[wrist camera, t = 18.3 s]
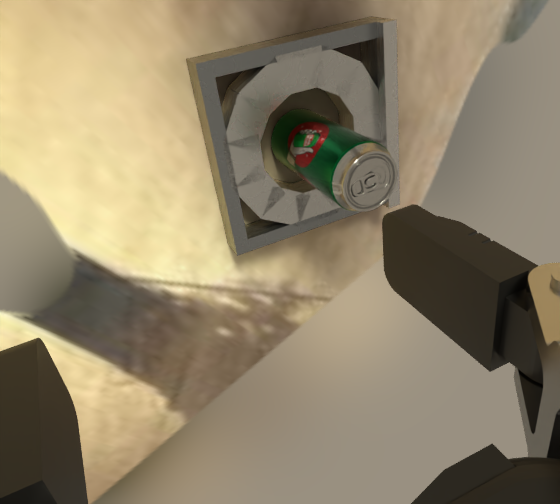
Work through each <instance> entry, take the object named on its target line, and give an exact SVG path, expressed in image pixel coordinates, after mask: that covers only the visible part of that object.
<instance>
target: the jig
mask: <svg viewBox="0 0 560 504" xmlns="http://www.w3.org/2000/svg"><path fill="white" fill-rule="evenodd" d="M359 42H360V49H361V61H358V60H356V59H354V58H351V57H349V56H346V55H344V54H342V53H339V52H337V51H335V50H332V49H334V48H338V47H342V46H346V45H350V44H355V43H359ZM186 60H187V65H188V69H189V74H190V78H191V83H192V87H193V91H194V96H195V100H196V105H197V109H198V113H199V118H200V122H201V127H202V131H203V136H204V140H205V144H206V149H207V153H208V158H209V162H210V166H211V171H212V175H213V180H214V184H215V189H216V193H217V197H218V202H219V206H220V211H221V215H222V219H223V224H224V228H225V233H226V237H227V242H228V244H229V245H230V247H231V248H232V249H233V251H234V252H235V253H236V255H237V256H238V255H241V254H243V253H246V252H249V251H252V250H255V249H258V248H260V247H263V246H266V245H269V244H272V243H275V242H277V241H280V240H283V239H286V238H289V237H292V236H294V235H297V234H300V233H303V232H306V231H309V230H312V229H314V228H317V227H320V226H323V225H326V224H329V223H331V222H334V221H337V220H340V219H343V218H346V217H348V216H351V215H354V214H357V213H360V212H362V211H349V210H346V209H344V208H342V207H340V206H339V205H338V204H336V203H335V202H334V201H332V200H331V199H330V198H328V197H327V196H325V195H324V194H323V193H321V192H320V191H319V190H317V189H316V188H315V187H313V186H312V185H310V184H309V183H308V182H306V181H305V180H301V181H298V182H295V183H292V184H290V183H286V182H282V181H278V180H274V179H272V178H271V176H270V175H269V174H268V173H267V172H266V171H265V169H264V163H263V157H262V151H261V145H260V142H261V139H262V136H263V133H264V130H265V127H266V124H267V121H268V118H269V115H270V114H271V113H272V112H273V111H274V110H275V109H276V108H277V107H278V106H279V105H280V104H281V103H282V102H283V101H284V100H285V99H286V98H287V97H288V96H289V95H290V94H294V93H297V92H301V91H305V90H309V89H312V88H316V87H317V88H320V89H322V90H325V91H326V93H327V94H328V96H329V97H330V99H331V100H332V101H333V103H334V104H335V106H336V107H337V109H338V112H339V124H340V125H342V126H344V127H347V128H349V129H351V130H353V131H355V132H357V133H359V134H361V135H363V136H365V137H367V138H370V139H372V140H374V141H376V142H378V143H380V144H382V145H383V146H384V147H385V148H386V149H387V150H388V151H389V153H390V155H391V157H392V158H393V160H394V161H395V163H396V166H397V172H398V175H397V182H396V186H395V188H394V190H393V192H392V194H391V196H390V197H389V198H388V200H387V201H386V202H385V203H383V204H382V205H384V206H386V207H388V208H391V207H394V206H397V205H400V191H399V136H398V81H397V25H396V20H395V19H386V18H378V17H368V18H364V19H359V20H355V21H351V22H346V23H342V24H338V25H333V26H329V27H324V28H320V29H316V30H311V31H307V32H303V33H298V34H294V35H289V36H285V37H281V38H276V39H272V40H268V41H263V42H259V43H255V44H250V45H246V46H241V47H237V48H233V49H228V50H224V51H220V52H215V53H211V54H206V55H202V56H198V57H193V58H189V59H186ZM240 71H243V72H242V73H241V74H240V75H239V76H238V77H237V78H236V79H235V80H234V81H233V82H232V83H231V84H230V85H229V86H228V88H227V90H226V93H225V97H224V100H223V103H222V107H221V104H220V99H219V94H218V89H217V84H216V79H215V77H219V76H223V75H227V74H231V73H235V72H240ZM239 197H240V198H241V199H242V200H243V201H244V202H245V203H246V204H247V205H248V206H249V207H250V208H251V209H252V210H253V211H254V212H255V213H256V214H257V215H258V216H259V217H260V218H261V219H262V220H259V221H256V222H253V223H250V224H248V225H245V223H244V218H243V213H242V208H241V203H240V198H239Z"/></svg>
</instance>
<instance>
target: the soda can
mask: <svg viewBox="0 0 560 504" xmlns="http://www.w3.org/2000/svg"><path fill="white" fill-rule="evenodd" d="M271 146H272V150H273V153H274V155H275V157H276V158H277V160H278V161H279V162H281V163H282V164H283V165H285V166H286V167H287V168H289V169H290V170H291V171H293V172H294V173H296V174H297V175H298V176H300V177H301V178H302V179H304V180H305V181H306V182H308V183H309V184H310V185H312V186H313V187H315V188H316V189H317V190H319V191H320V192H321V193H323V194H324V195H325V196H327V197H328V198H330V199H331V200H332V201H334V202H335V203H336V204H338V205H339V206H340V207H342V208H344V209H346V210H349V211H362V212H365V211H371V210H374V209H376V208H378V207H379V206H381V205H382V204H383V203H385V202H386V201H387V200H388V198H389V197H390V196H391V194H392V192H393V190H394V188H395V186H396V182H397V175H398V172H397V166H396V163H395V161H394V160H393V158H392V157H391V155H390V153H389V151H388V150H387V149H386V148H385V147H384V146H383V145H382V144H380V143H378V142H376V141H374V140H372V139H370V138H367V137H365V136H363V135H361V134H359V133H357V132H355V131H353V130H351V129H349V128H347V127H344V126H342V125H340V124H338V123H336V122H334V121H332V120H330V119H328V118H326V117H323V116H321V115H319V114H317V113H315V112H313V111H311V110H308V109H295V110H292V111H290V112H288V113H286V114H285V115H284V116H282V117H281V119H280V120H279V121H278V122H277V124H276V126H275V127H274V130H273V133H272V138H271Z"/></svg>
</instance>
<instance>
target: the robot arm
mask: <svg viewBox="0 0 560 504" xmlns="http://www.w3.org/2000/svg"><path fill="white" fill-rule="evenodd" d="M382 230H383V255H384V271H385V275H386V278H387V280H388V282H389V284H390V286H391V287H392V288H393V290H394V291H395V292H397V293H398V294H399V295H400V296H401V297H402V298H403V299H405V300H406V301H407V302H409V304H411V305H412V306H413V307H414V308H415V309H417V310H418V311H419V312H420V313H421V314H422V315H424V316H425V317H426V318H427V319H428V320H430V321H431V322H432V323H433V324H434V325H435V326H437V327H438V328H439V329H440V330H441V331H442V332H444V333H445V334H446V335H447V336H449V337H450V338H451V339H452V340H453V341H454V342H456V343H457V344H458V345H459V346H460V347H461V348H463V349H464V350H465V351H466V352H467V353H468V354H470V355H471V356H472V357H473V358H474V359H476V360H477V361H478V362H479V363H480V364H482V365H483V366H484V367H485V368H486V369H487V370H489V371H492V370H495V369H496V368H499V367H501V366H503V365H505V364H507V363H509V362H510V363H511V364H513V365H514V366H515V372H514V381H515V386H516V391H517V397H518V402H519V407H520V411H521V417H522V421H523V426H524V432H525V436H526V442H527V447H528V457H523V458H513V459H507V458H506V457H505V456H504V455H503V454H502V453H501V452H500V451H499V450H498V449H497V448H496V447H495V446H494V445H493V444H491V445H489V446H488V447H486V448H483V449H482V450H480V451H478V452H476V453H475V454H472V455H471V456H469V457H467V458H465V459H463V460H461V461H460V462H458V463H456V464H454V465H452V466H451V467H449V468H447V469H445V470H444V471H443V472H442V473H441V474H440V475H439V476H438V477H437V478H436V479H435V480H434V481H433V482H432V483H431V484H430V485H429V486H428V487H427V488H426V489H425V490H424V491H423V492H422V493H421V494H420V495H419V496H418V497H417V498H416V499H415V500H414V501H413V502H412V503H411V504H560V263H548V264H544V265H540V266H538V265H536V264H534V263H532V262H531V261H529V260H527V259H525V258H524V257H522V256H520V255H518V254H516V253H515V252H513V251H511V250H509V249H508V248H506V247H504V246H502V245H500V244H499V243H497V242H495V241H491V240H490V238H488V237H486V236H484V235H483V234H481V233H477V231H476V230H474V229H472V228H470V227H468V226H467V225H465V224H463V223H461V222H459V221H455V220H451V219H447V218H444V217H440V216H438V217H437V216H435V215H433V214H432V213H430V212H428V211H426V210H425V209H423V208H421V207H420V206H418V205H410V206H407V207H404V208H402V209H399V210H396V211H393V212H390V213H388V214H386V215H385V216H384V218H383V222H382ZM0 504H88V499H87V491H86V483H85V475H84V467H83V459H82V451H81V443H80V435H79V427H78V420H77V415H76V411H75V407H74V404H73V401H72V399H71V396H70V394H69V392H68V389H67V387H66V386H65V384H64V382H63V380H62V378H61V376H60V374H59V372H58V370H57V368H56V366H55V364H54V362H53V360H52V358H51V356H50V354H49V352H48V350H47V348H46V346H45V345H44V343H43V341H42V340H41V339H40V338H36V339H34V340H31V341H28V342H25V343H22V344H20V345H17V346H14V347H11V348H9V349H6V350H3V351H0Z"/></svg>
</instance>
